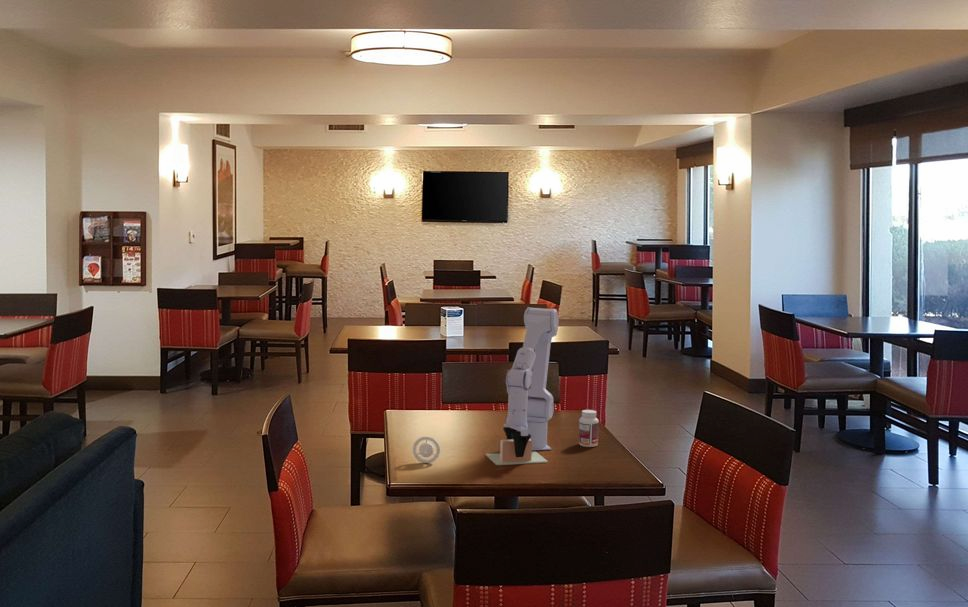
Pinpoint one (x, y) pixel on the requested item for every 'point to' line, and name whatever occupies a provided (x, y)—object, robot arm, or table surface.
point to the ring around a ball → (426, 449)
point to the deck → (509, 451)
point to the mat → (534, 459)
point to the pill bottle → (588, 429)
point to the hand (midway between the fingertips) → (516, 454)
